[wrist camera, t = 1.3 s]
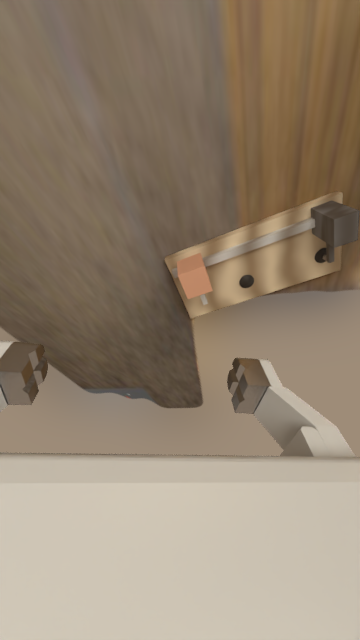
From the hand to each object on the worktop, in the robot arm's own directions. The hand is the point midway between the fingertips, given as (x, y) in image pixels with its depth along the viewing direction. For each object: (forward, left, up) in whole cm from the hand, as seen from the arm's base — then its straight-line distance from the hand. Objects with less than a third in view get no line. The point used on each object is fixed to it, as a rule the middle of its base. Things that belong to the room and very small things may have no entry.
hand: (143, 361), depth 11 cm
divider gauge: (-11, +14, -33) cm, 37 cm away
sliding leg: (-1, +13, -31) cm, 33 cm away
